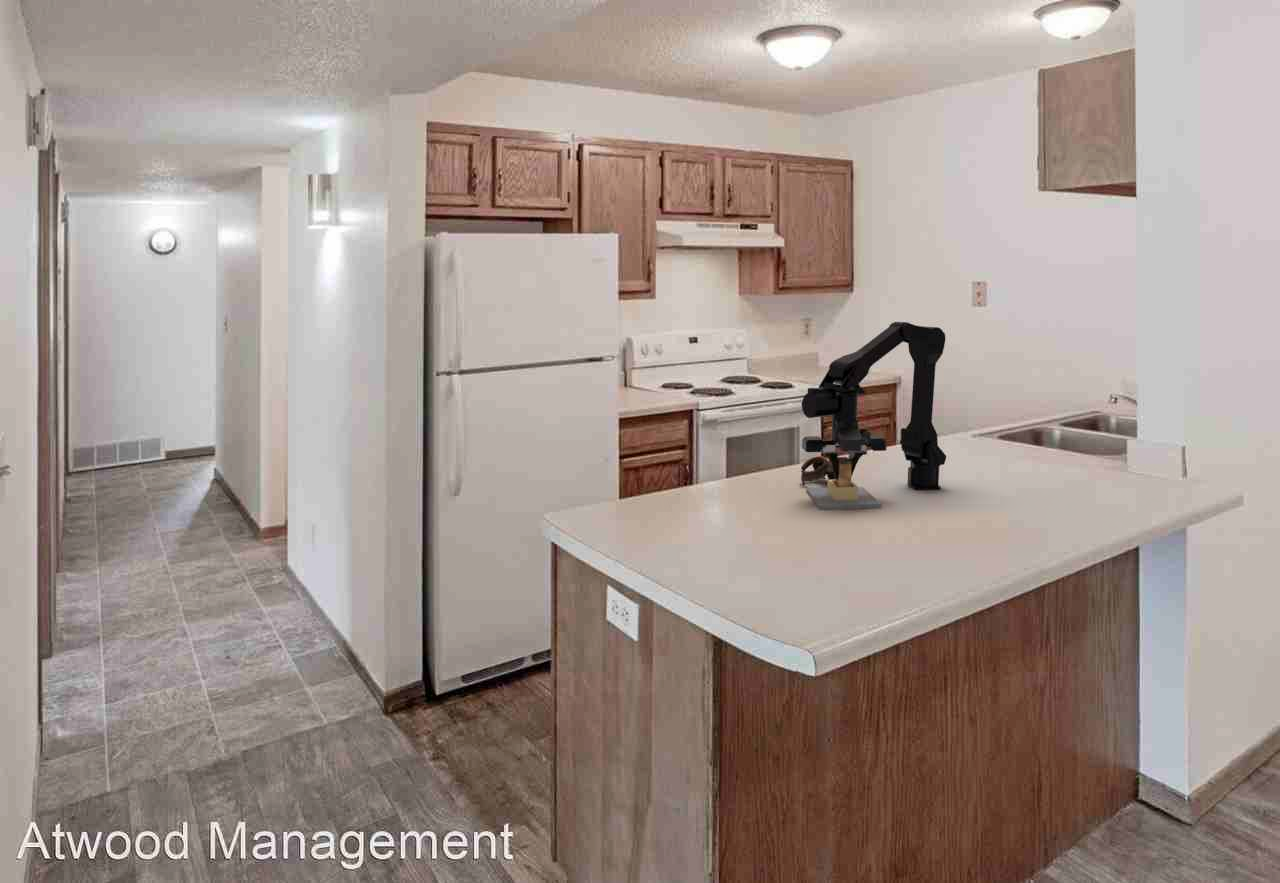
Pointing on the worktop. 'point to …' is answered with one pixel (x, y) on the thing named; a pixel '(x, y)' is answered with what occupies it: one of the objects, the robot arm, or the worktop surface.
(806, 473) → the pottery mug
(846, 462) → the wood topped block
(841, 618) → the worktop surface
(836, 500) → the grey board with socket
